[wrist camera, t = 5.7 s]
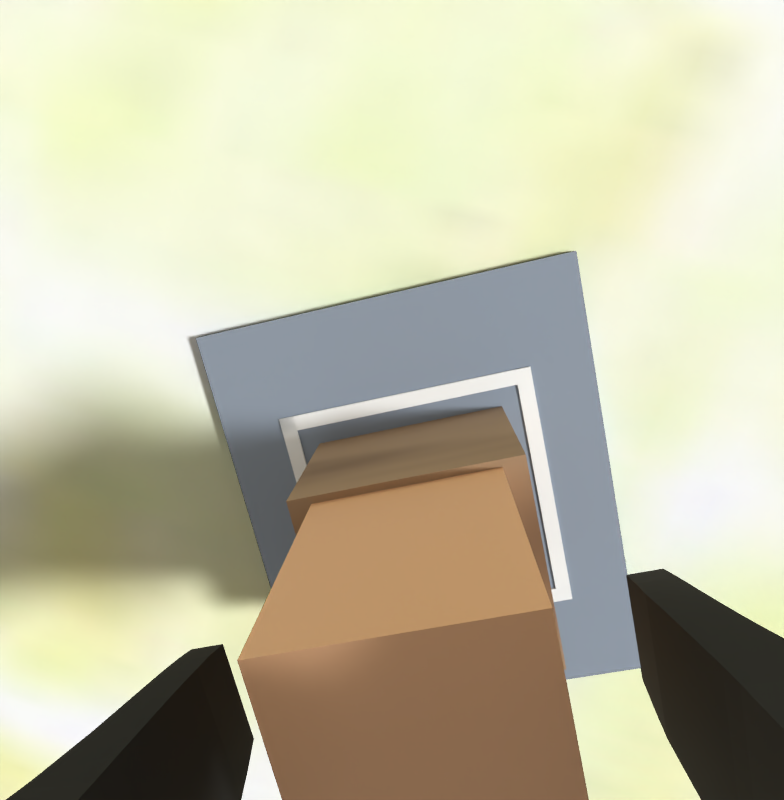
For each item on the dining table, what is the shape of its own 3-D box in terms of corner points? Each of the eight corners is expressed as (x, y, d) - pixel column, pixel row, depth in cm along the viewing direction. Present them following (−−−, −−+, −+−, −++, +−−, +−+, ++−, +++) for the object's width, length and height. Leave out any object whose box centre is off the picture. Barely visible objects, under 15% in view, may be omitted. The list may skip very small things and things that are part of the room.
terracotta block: (536, 639, 13) (602, 869, 8) (356, 668, 13) (315, 904, 9) (502, 466, 12) (552, 608, 7) (311, 503, 13) (237, 660, 8)
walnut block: (534, 574, 17) (566, 669, 13) (362, 604, 17) (344, 704, 14) (502, 406, 16) (525, 454, 12) (319, 443, 16) (286, 501, 13)
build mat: (638, 660, 18) (642, 669, 17) (312, 711, 19) (309, 720, 18) (573, 251, 15) (576, 251, 15) (200, 336, 16) (194, 338, 16)
